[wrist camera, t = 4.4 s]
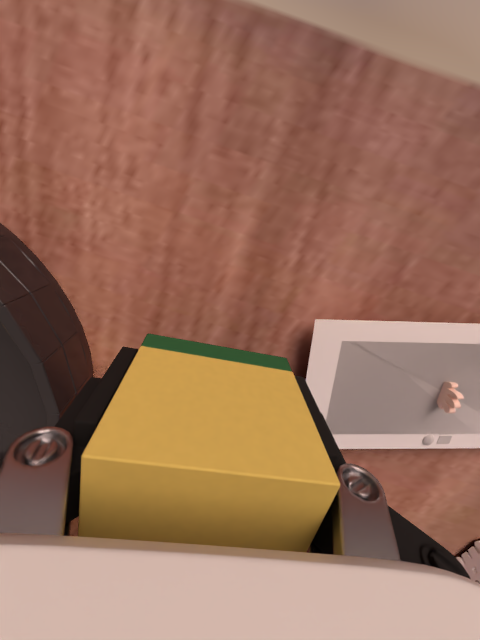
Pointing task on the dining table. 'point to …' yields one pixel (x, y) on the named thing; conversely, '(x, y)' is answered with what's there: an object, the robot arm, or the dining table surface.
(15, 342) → the pan
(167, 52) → the dining table surface
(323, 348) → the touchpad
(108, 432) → the sponge
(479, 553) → the game pieces
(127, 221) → the dining table surface
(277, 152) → the dining table surface
